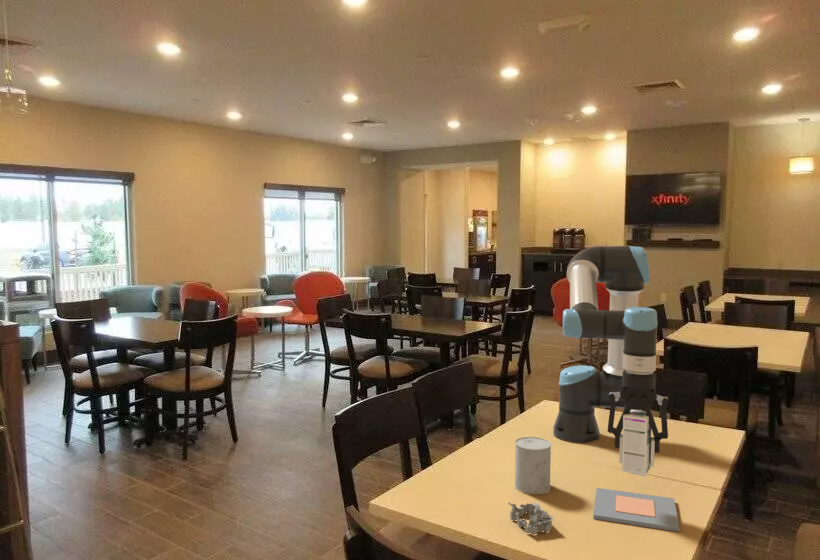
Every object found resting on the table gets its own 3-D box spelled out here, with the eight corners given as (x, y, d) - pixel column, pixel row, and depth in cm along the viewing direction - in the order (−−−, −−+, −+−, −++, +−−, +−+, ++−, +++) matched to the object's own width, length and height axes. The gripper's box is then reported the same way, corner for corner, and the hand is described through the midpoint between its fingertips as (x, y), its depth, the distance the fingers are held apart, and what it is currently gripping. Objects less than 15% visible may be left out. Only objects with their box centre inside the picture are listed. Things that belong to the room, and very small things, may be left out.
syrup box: (646, 477, 143) (648, 418, 142) (620, 471, 146) (622, 414, 145) (650, 469, 148) (652, 412, 146) (625, 464, 151) (627, 408, 150)
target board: (593, 518, 144) (593, 513, 143) (596, 491, 159) (596, 486, 158) (679, 532, 137) (679, 527, 137) (673, 502, 152) (674, 497, 152)
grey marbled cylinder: (552, 482, 164) (552, 439, 163) (548, 497, 155) (549, 451, 154) (517, 477, 167) (518, 435, 166) (511, 492, 158) (512, 447, 157)
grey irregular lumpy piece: (506, 517, 145) (506, 501, 145) (533, 513, 147) (534, 497, 147) (527, 538, 135) (527, 521, 135) (556, 533, 137) (556, 516, 137)
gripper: (596, 371, 145) (594, 463, 146) (684, 377, 138) (680, 474, 140) (597, 364, 152) (595, 452, 153) (681, 370, 145) (678, 462, 147)
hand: (636, 462), depth 147 cm, fingers closed on syrup box, 6 cm apart
